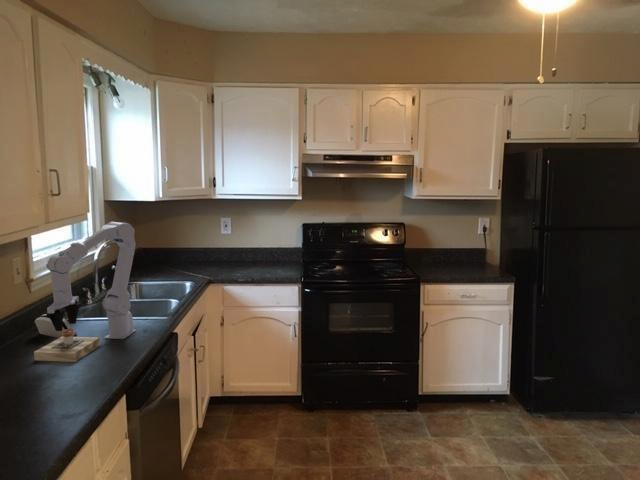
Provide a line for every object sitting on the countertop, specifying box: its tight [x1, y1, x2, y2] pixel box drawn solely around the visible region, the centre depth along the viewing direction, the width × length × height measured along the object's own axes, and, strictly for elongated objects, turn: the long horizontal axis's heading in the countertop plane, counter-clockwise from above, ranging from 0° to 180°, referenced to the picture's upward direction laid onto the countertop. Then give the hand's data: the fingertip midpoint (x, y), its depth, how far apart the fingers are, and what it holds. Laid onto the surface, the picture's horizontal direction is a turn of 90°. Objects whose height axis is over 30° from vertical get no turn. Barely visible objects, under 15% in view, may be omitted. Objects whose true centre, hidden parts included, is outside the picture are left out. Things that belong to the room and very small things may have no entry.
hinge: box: [34, 313, 79, 339], centre depth 193 cm, size 17×5×10 cm, turn 62°
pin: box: [61, 328, 74, 347], centre depth 174 cm, size 4×4×8 cm
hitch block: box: [33, 336, 101, 363], centre depth 175 cm, size 15×15×3 cm
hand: (66, 327), depth 174 cm, fingers open, 7 cm apart
